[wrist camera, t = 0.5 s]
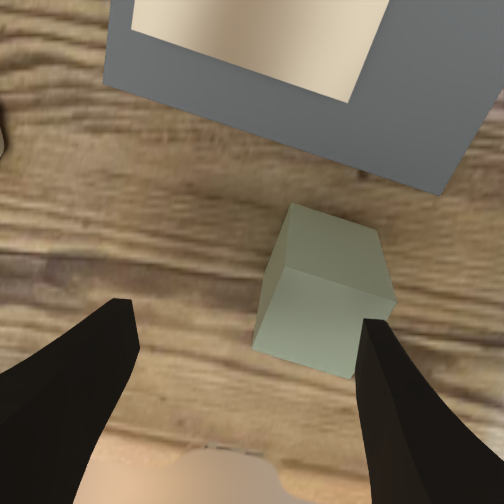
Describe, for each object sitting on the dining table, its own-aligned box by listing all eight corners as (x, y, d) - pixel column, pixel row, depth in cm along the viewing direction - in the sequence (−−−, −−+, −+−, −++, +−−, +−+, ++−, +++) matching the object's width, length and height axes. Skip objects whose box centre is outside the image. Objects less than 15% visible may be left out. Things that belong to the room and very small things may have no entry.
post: (376, 229, 21) (397, 302, 16) (341, 297, 24) (349, 379, 19) (291, 201, 21) (285, 266, 16) (264, 273, 23) (251, 349, 18)
